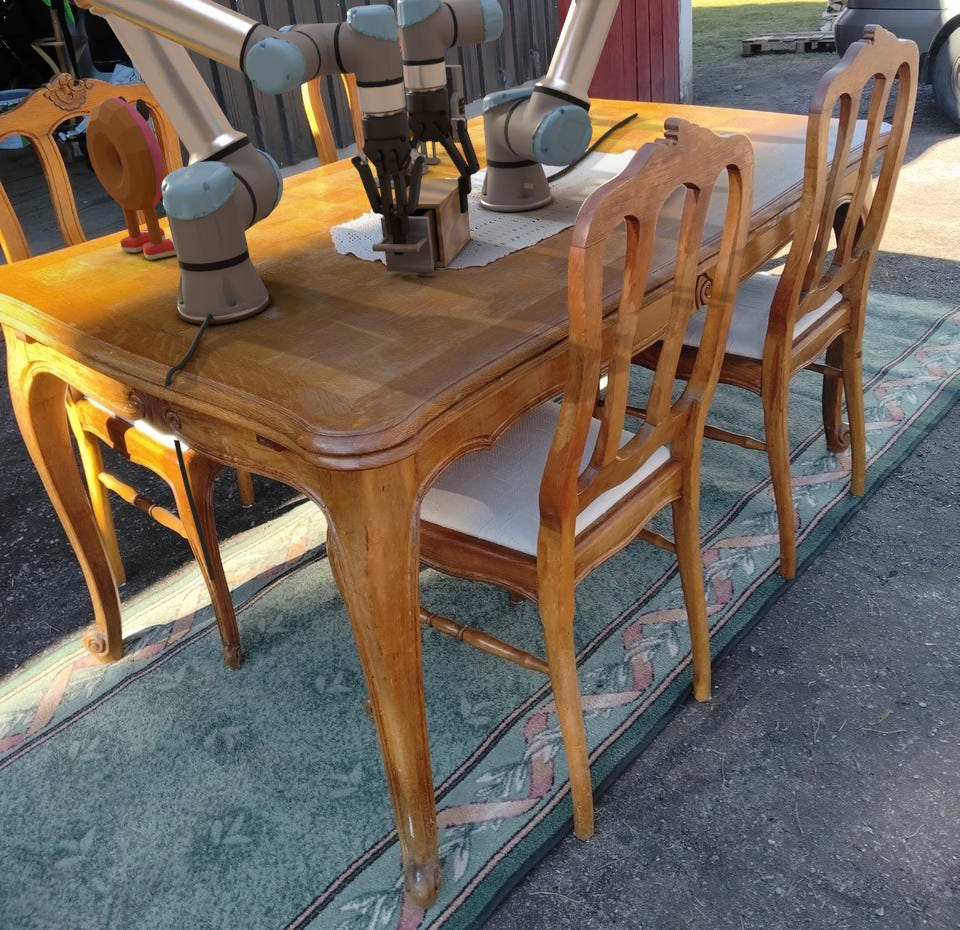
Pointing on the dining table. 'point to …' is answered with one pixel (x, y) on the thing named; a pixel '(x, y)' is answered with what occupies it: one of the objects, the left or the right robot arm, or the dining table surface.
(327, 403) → the dining table surface
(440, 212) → the cabinet
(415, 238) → the drawer
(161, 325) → the dining table surface
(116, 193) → the toy
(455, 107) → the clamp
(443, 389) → the dining table surface
